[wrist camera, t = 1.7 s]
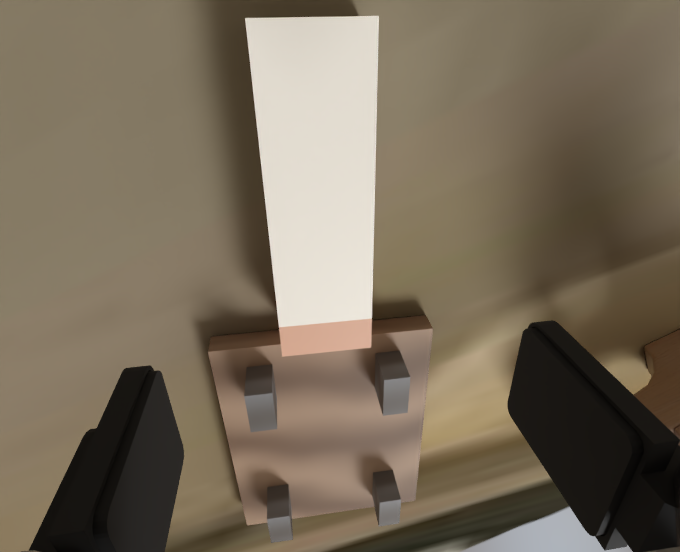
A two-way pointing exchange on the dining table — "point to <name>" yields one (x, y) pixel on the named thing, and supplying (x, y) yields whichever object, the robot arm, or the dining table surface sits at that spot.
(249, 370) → the brown fixture board
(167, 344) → the dining table surface
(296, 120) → the block
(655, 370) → the wooden toy
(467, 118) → the dining table surface
